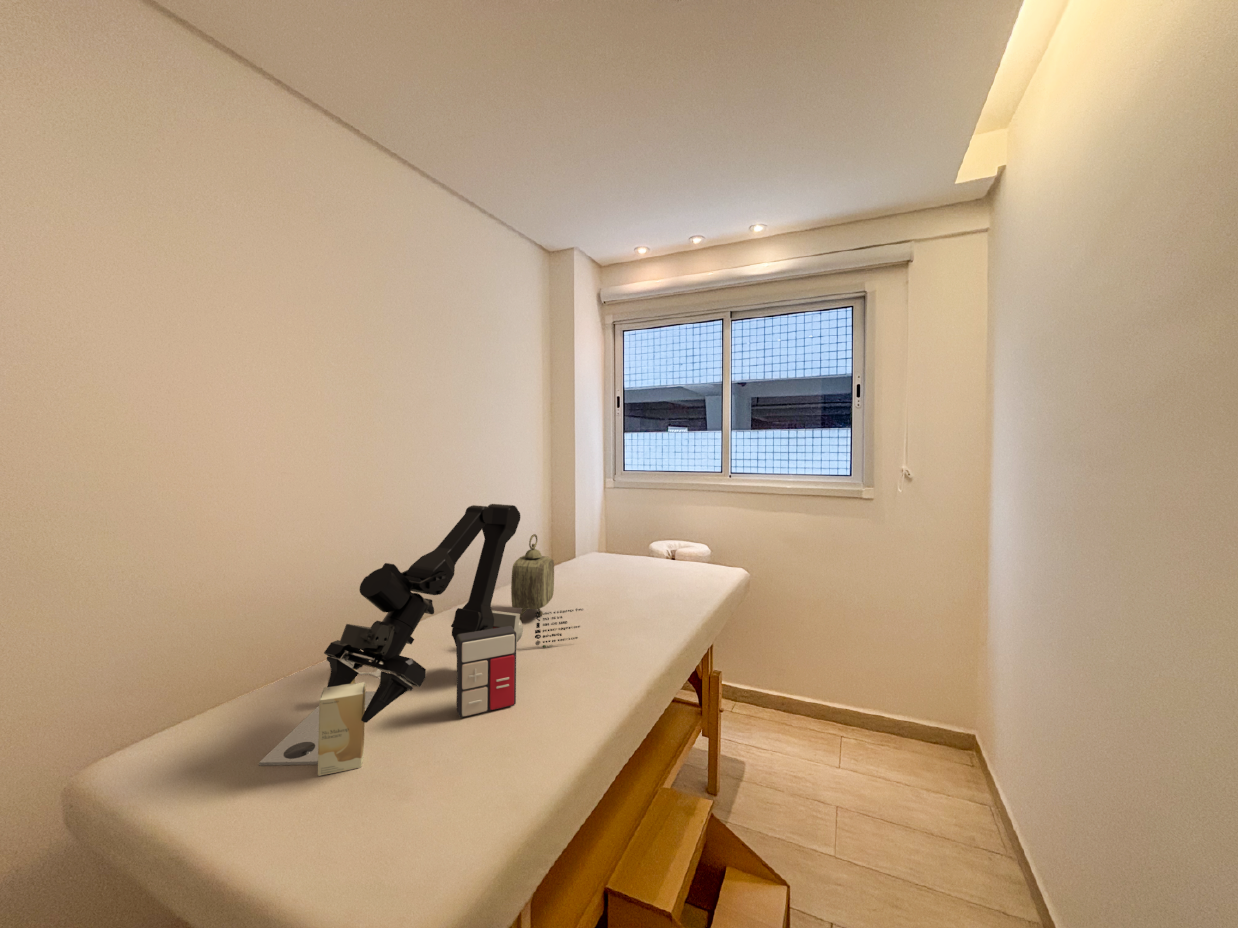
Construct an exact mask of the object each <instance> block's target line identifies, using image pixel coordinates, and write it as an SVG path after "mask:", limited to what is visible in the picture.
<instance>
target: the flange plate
mask: <svg viewBox="0 0 1238 928" xmlns="http://www.w3.org/2000/svg"><path fill="white" fill-rule="evenodd" d="M375 692H376V690H375V691H373V690H372V691H369V690H368V691H365V709H366V708H367V706H368V705H369V703H370V701H371V699H372V697H373V696H374V694H375ZM318 740H319V705H318V706H317V707H316V708H315V709H313V711H312V712H311V713H310V714H308V715H307V716H306V717H305V718H304V719H303V720H302V721H301V722H300V723H299V724H298V725H296V726H295V728H294V729H292V731H290V733H288V734H287V735H286V737H284V738H283V739H282V740H281V741H280V742H279V743H278V744H277V745H276V746H275V747H273V748H272V749H271V751H269V753H267V754H266V755H265V756H264V757H263V758H262V759H261V760H260V761H259V762H258V766H296V765H298V766H301V765H302V766H303V765H305V766H306V765H311V766H312V765H318Z"/></svg>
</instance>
